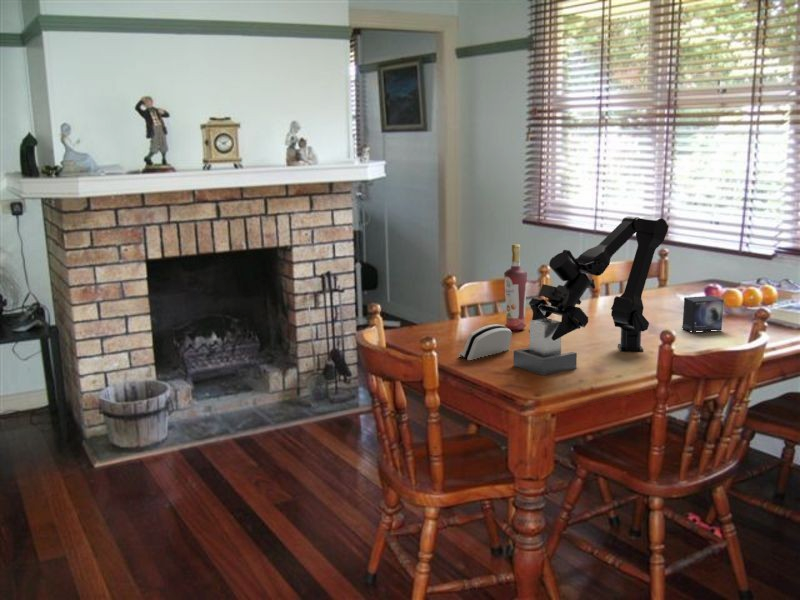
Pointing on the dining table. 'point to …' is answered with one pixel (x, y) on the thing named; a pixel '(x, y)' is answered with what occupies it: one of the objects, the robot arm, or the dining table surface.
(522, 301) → the liquor
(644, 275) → the robot arm
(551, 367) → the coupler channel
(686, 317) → the small box
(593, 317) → the dining table surface
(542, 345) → the block
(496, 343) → the grey rounded block
